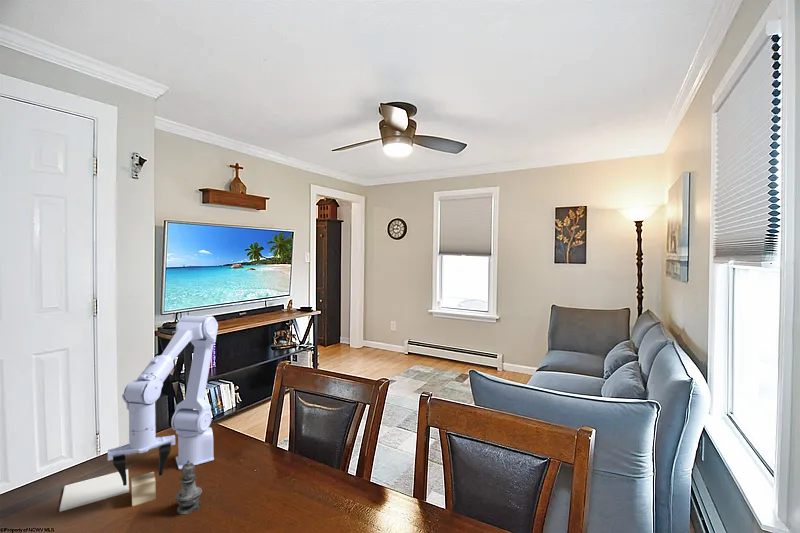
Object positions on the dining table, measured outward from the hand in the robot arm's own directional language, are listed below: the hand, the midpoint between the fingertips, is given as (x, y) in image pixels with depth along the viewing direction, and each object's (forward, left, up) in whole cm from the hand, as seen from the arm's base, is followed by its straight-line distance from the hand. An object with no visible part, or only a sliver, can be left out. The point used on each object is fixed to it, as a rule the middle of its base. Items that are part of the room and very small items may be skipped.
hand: (143, 478), depth 102 cm
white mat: (+10, -11, -5) cm, 16 cm away
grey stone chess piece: (-9, +11, -5) cm, 15 cm away
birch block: (0, 0, -5) cm, 5 cm away
